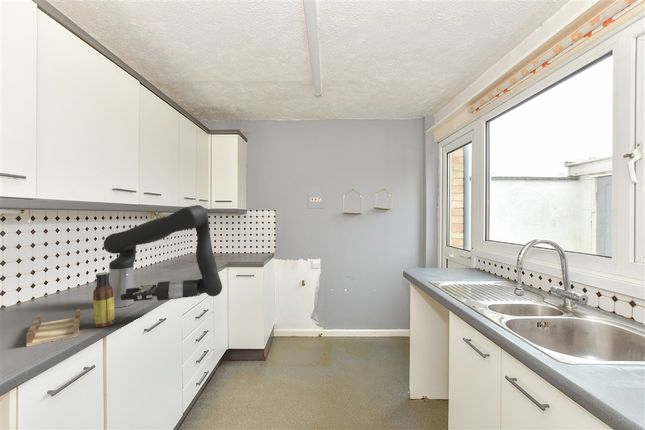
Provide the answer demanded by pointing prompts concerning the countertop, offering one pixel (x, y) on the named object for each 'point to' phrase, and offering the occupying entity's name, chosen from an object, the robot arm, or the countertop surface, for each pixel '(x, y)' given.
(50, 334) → the track
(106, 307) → the sauce bottle
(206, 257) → the robot arm
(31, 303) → the countertop surface
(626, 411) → the countertop surface
